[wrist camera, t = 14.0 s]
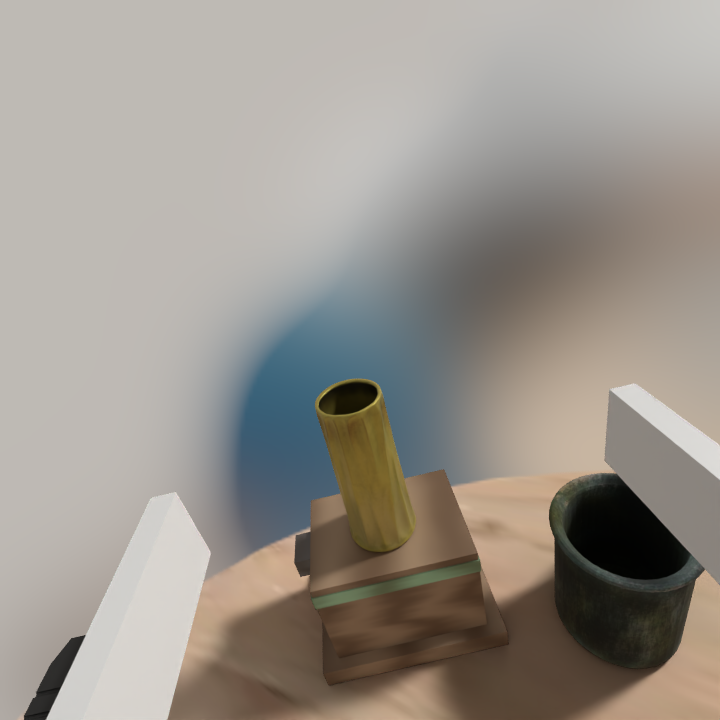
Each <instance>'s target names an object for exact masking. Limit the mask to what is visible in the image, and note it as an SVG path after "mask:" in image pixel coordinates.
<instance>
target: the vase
mask: <svg viewBox="0 0 720 720" xmlns="http://www.w3.org/2000/svg"><path fill="white" fill-rule="evenodd" d="M315 408H316V413H317V417H318V419H319V423H320V426H321V429H322V432H323V435H324V438H325V441H326V444H327V448H328V451H329V455H330V458H331V461H332V465H333V469H334V472H335V475H336V479H337V482H338V485H339V489H340V493H341V496H342V499H343V503H344V506H345V509H346V512H347V516H348V520H349V526H350V532H351V535H352V538H353V539H354V541H355V542H356V543H357V544H358V545H359V546H360V547H362V548H363V549H365V550H368V551H372V552H386V551H391V550H393V549H396V548H398V547H400V546H401V545H403V544H404V543H405V542H406V541H407V540H408V539H409V538H410V537H411V535H412V533H413V531H414V529H415V525H416V516H415V512H414V510H413V507H412V505H411V501H410V498H409V494H408V490H407V487H406V483H405V480H404V476H403V473H402V469H401V466H400V462H399V459H398V455H397V451H396V447H395V444H394V440H393V436H392V431H391V427H390V423H389V420H388V415H387V411H386V407H385V402H384V398H383V394H382V392H381V389H380V387H379V385H378V384H376V383H375V382H373V381H371V380H367V379H349V380H345V381H341V382H338V383H335V384H333V385H331V386H330V387H328V388H327V389H325V390H324V391H323V392H322V393H321V394H320V395H319V396H318V398H317V399H316V402H315Z"/></svg>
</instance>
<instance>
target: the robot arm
mask: <svg viewBox="0 0 720 720" xmlns="http://www.w3.org/2000/svg"><path fill="white" fill-rule="evenodd" d="M605 462H606V463H607V464H608V465H609V466H610V467H611V468H612V469H613V470H614V471H615V472H616V473H617V475H618V476H619V477H620V478H621V479H622V480H623V481H624V482H625V483H626V484H627V485H628V486H629V487H630V489H631V490H632V491H633V492H634V493H635V494H636V495H637V496H638V497H639V498H640V499H641V500H642V502H643V503H644V504H645V505H646V506H647V507H648V508H649V509H650V510H651V511H652V512H653V513H654V514H655V516H656V517H657V518H658V519H659V520H660V521H661V522H662V523H663V524H664V525H665V526H666V527H667V529H668V530H669V531H670V532H671V533H672V534H673V535H674V536H675V537H676V538H677V539H678V540H679V541H680V543H681V544H682V545H683V546H684V547H685V548H686V549H687V550H688V551H689V552H690V553H691V554H692V556H693V557H694V558H695V559H696V560H697V561H698V562H699V563H700V564H701V565H702V566H703V567H704V568H705V570H706V571H707V572H708V573H709V574H710V575H711V576H712V577H713V578H714V579H715V580H716V581H717V583H718V584H719V585H720V445H719V444H717V443H716V442H714V441H713V440H712V439H710V438H709V437H708V436H706V435H705V434H704V433H702V432H701V431H699V430H698V429H697V428H695V427H694V426H692V425H691V424H690V423H689V422H687V421H686V420H684V419H683V418H682V417H680V416H679V415H678V414H676V413H675V412H674V411H672V410H671V409H669V408H668V407H667V406H665V405H664V404H663V403H661V402H660V401H659V400H657V399H656V398H654V397H653V396H652V395H650V394H649V393H648V392H646V391H645V390H643V389H642V388H641V387H639V386H638V385H637V384H635V383H634V384H630V385H626V386H622V387H617V388H613V389H610V390H609V403H608V418H607V432H606V447H605ZM210 554H211V552H210V550H209V549H208V547H207V545H206V544H205V542H204V540H203V538H202V536H201V535H200V533H199V531H198V530H197V528H196V526H195V524H194V523H193V521H192V519H191V517H190V516H189V514H188V512H187V511H186V509H185V507H184V505H183V504H182V502H181V500H180V498H179V497H178V495H177V493H176V492H174V493H170V494H166V495H161V496H157V497H153V498H151V499H150V501H149V503H148V505H147V507H146V510H145V512H144V514H143V516H142V518H141V520H140V522H139V525H138V526H137V529H136V531H135V533H134V535H133V537H132V539H131V541H130V543H129V546H128V548H127V550H126V552H125V554H124V556H123V558H122V561H121V562H120V565H119V567H118V569H117V571H116V573H115V575H114V577H113V579H112V582H111V583H110V586H109V588H108V590H107V592H106V594H105V596H104V598H103V600H102V603H101V605H100V607H99V609H98V611H97V613H96V615H95V617H94V620H93V622H92V624H91V626H90V628H89V630H88V632H87V634H86V635H84V636H80V637H75V638H71V640H70V641H69V642H68V643H67V645H66V646H65V647H64V648H63V650H62V651H61V652H60V653H59V655H58V656H57V657H56V658H55V660H54V661H53V662H52V663H51V665H50V667H49V669H48V671H47V672H46V674H45V676H44V678H43V680H42V682H41V684H40V686H39V688H38V690H37V692H36V694H37V695H36V697H35V698H33V700H32V702H31V703H30V705H29V707H28V709H27V711H26V713H25V715H24V720H167V719H168V715H169V711H170V707H171V704H172V700H173V696H174V692H175V688H176V684H177V681H178V677H179V673H180V669H181V665H182V661H183V658H184V654H185V650H186V646H187V642H188V638H189V635H190V631H191V627H192V623H193V619H194V615H195V612H196V608H197V604H198V600H199V596H200V592H201V588H202V585H203V581H204V577H205V573H206V569H207V565H208V562H209V557H210Z"/></svg>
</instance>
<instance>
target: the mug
mask: <svg viewBox="0 0 720 720" xmlns="http://www.w3.org/2000/svg"><path fill="white" fill-rule="evenodd" d="M549 521H550V527H551V530H552V533H553V535H554V537H555V602H556V607H557V610H558V613H559V616H560V618H561V620H562V622H563V623H564V625H565V627H566V628H567V630H568V631H569V632H570V633H571V635H572V636H573V637H574V638H575V639H576V640H577V641H578V642H579V643H580V644H581V645H582V646H583V647H584V648H586V649H587V650H588V651H590V652H591V653H593V654H594V655H596V656H598V657H600V658H601V659H603V660H605V661H608V662H610V663H613V664H616V665H619V666H623V667H629V668H649V667H654V666H657V665H659V664H662V663H664V662H665V661H667V660H668V659H670V658H671V657H672V656H673V655H674V653H675V652H676V651H677V649H678V647H679V645H680V642H681V638H682V634H683V630H684V626H685V622H686V618H687V614H688V610H689V605H690V601H691V597H692V593H693V589H694V585H695V581H696V579H697V578H698V577H699V576H700V575H701V573H702V572H703V571H704V570H705V568H704V567H703V566H702V565H701V564H700V563H699V562H698V561H697V560H696V559H695V558H694V557H693V556H692V554H691V553H690V552H689V551H688V550H687V549H686V548H685V547H684V546H683V545H682V544H681V543H680V541H679V540H678V539H677V538H676V537H675V536H674V535H673V534H672V533H671V532H670V531H669V530H668V529H667V527H666V526H665V525H664V524H663V523H662V522H661V521H660V520H659V519H658V518H657V517H656V516H655V514H654V513H653V512H652V511H651V510H650V509H649V508H648V507H647V506H646V505H645V504H644V503H643V502H642V500H641V499H640V498H639V497H638V496H637V495H636V494H635V493H634V492H633V491H632V490H631V489H630V487H629V486H628V485H627V484H626V483H625V482H624V481H623V480H622V479H621V478H620V477H619V476H618V475H617V474H614V473H599V474H591V475H586V476H582V477H579V478H577V479H574V480H572V481H570V482H569V483H567V484H566V485H564V486H563V487H562V488H561V489H560V490H559V491H558V492H557V493H556V495H555V497H554V498H553V500H552V502H551V506H550V509H549Z"/></svg>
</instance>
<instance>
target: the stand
mask: <svg viewBox="0 0 720 720" xmlns="http://www.w3.org/2000/svg"><path fill="white" fill-rule="evenodd" d="M404 480H405V483H406V487H407V490H408V494H409V498H410V501H411V505H412V507H413V510H414V512H415V516H416V525H415V529H414V531H413V533H412V535H411V537H410V538H409V539H408V540H407V541H406V542H405V543H404V544H403V545H401V546H400V547H398V548H396V549H393V550H391V551H386V552H372V551H368V550H365V549H363V548H362V547H360V546H359V545H358V544H357V543H356V542H355V541H354V539H353V538H352V535H351V532H350V526H349V520H348V516H347V512H346V509H345V506H344V503H343V499H342V496H341V494H337V495H333V496H328V497H324V498H320V499H316V500H312V501H311V532H308V533H304V534H300V535H296V541H295V561H294V563H295V565H296V568H297V570H298V572H299V574H300V577H302V576H307V575H310V594H311V600H312V602H313V605H314V607H315V609H317V610H318V612H319V614H320V616H321V619H322V622H323V674H324V676H325V679H326V681H327V683H328V685H332V684H336V683H341V682H345V681H350V680H354V679H358V678H363V677H367V676H371V675H376V674H380V673H384V672H389V671H393V670H397V669H402V668H406V667H411V666H415V665H419V664H424V663H428V662H432V661H437V660H441V659H445V658H450V657H454V656H458V655H463V654H467V653H471V652H476V651H480V650H485V649H489V648H493V647H498V646H502V645H506V644H508V633H507V630H506V627H505V625H504V622H503V620H502V617H501V614H500V612H499V609H498V607H497V604H496V602H495V599H494V597H493V594H492V592H491V589H490V587H489V584H488V582H487V579H486V577H485V574H484V572H483V569H482V567H481V563H480V559H479V556H478V553H477V550H476V548H475V545H474V543H473V540H472V538H471V535H470V533H469V530H468V528H467V525H466V523H465V520H464V518H463V515H462V513H461V510H460V508H459V505H458V503H457V501H456V498H455V496H454V493H453V491H452V488H451V486H450V483H449V481H448V478H447V476H446V473H445V471H444V470H439V471H435V472H430V473H426V474H422V475H418V476H413V477H409V478H405V479H404Z"/></svg>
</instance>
